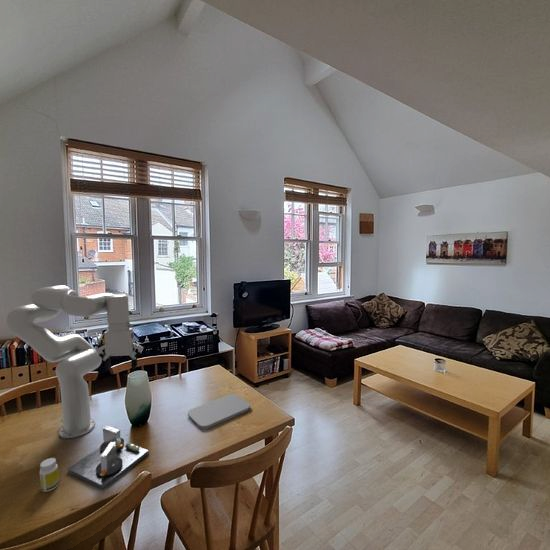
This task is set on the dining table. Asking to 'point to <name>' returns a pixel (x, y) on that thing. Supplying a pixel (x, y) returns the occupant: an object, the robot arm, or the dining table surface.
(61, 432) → the robot arm
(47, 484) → the supplement bottle
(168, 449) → the dining table surface
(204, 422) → the tablet
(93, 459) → the base plate
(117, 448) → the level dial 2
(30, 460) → the dining table surface
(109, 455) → the level dial
